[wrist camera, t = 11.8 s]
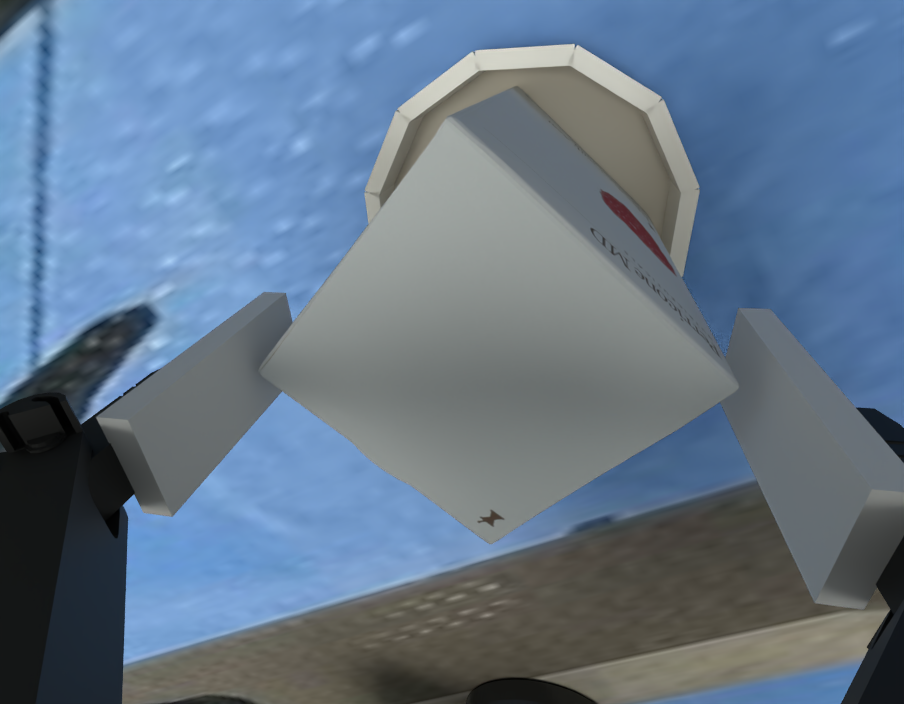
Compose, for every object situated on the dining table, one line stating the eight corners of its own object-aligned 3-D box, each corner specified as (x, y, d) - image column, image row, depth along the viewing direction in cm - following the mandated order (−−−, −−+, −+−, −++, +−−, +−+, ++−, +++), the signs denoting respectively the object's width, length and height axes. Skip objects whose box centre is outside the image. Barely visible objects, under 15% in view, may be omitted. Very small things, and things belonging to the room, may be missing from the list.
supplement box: (656, 215, 23) (761, 398, 11) (524, 332, 28) (491, 558, 15) (516, 76, 22) (447, 100, 9) (400, 224, 26) (246, 379, 14)
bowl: (652, 343, 28) (662, 377, 25) (404, 331, 31) (387, 360, 28) (706, 37, 20) (730, 34, 18) (373, 58, 23) (346, 58, 20)
